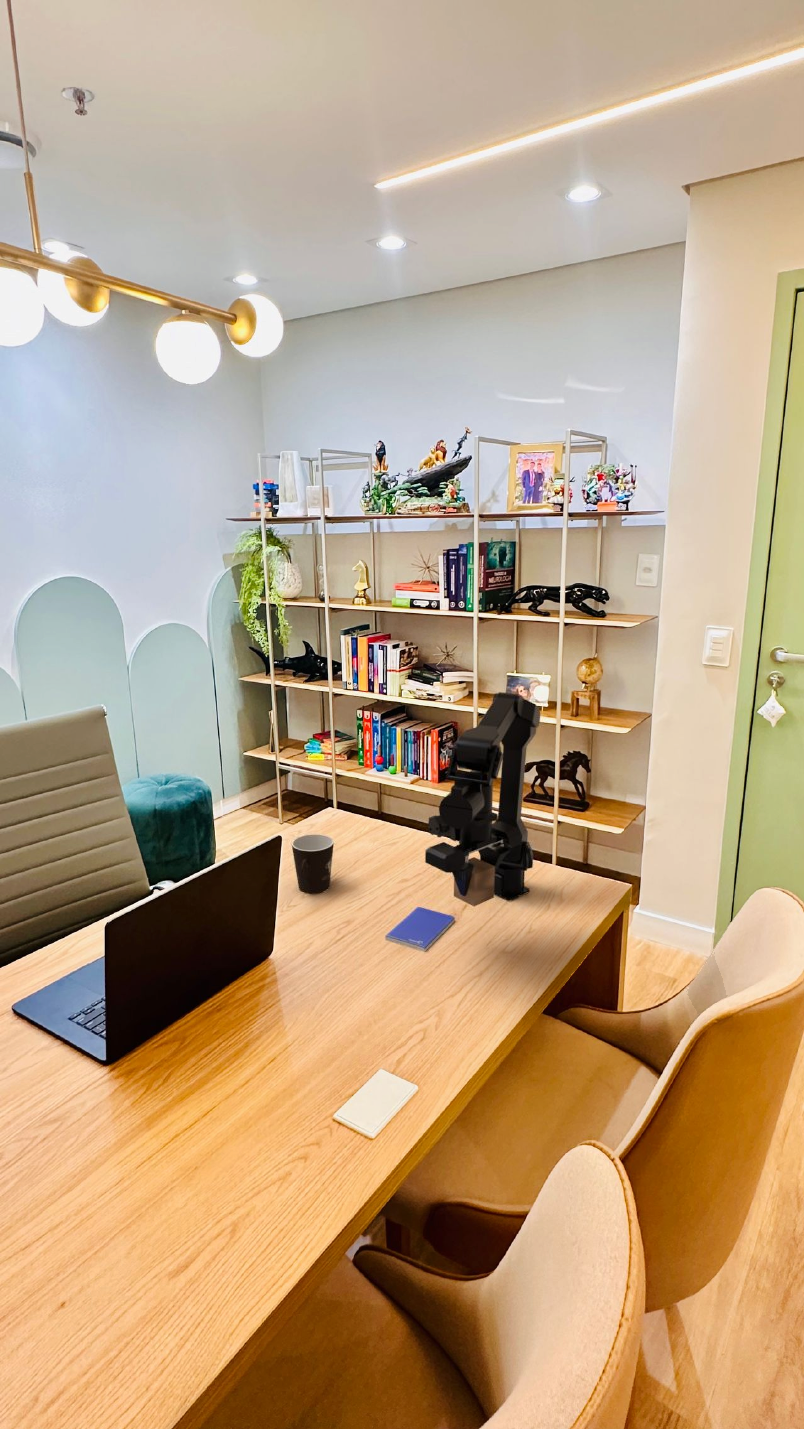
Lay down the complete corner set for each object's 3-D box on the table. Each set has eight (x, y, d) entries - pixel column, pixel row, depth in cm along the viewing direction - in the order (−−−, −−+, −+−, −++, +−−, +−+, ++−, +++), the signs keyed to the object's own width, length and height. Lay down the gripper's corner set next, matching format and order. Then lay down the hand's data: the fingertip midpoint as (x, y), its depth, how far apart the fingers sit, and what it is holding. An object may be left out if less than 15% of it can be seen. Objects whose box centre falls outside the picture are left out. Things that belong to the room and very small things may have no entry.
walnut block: (473, 887, 140) (474, 857, 139) (493, 897, 137) (494, 866, 135) (453, 896, 137) (454, 865, 136) (474, 906, 134) (474, 874, 132)
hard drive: (424, 946, 137) (455, 916, 148) (385, 934, 141) (417, 905, 152) (424, 954, 138) (454, 923, 148) (385, 942, 142) (417, 913, 152)
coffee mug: (312, 873, 168) (311, 830, 165) (343, 884, 163) (342, 840, 160) (274, 894, 158) (272, 849, 156) (305, 906, 154) (303, 859, 151)
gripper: (479, 783, 145) (477, 860, 149) (403, 807, 133) (403, 890, 137) (525, 799, 137) (521, 880, 140) (449, 826, 125) (447, 914, 129)
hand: (473, 890), depth 137 cm, fingers closed on walnut block, 5 cm apart
